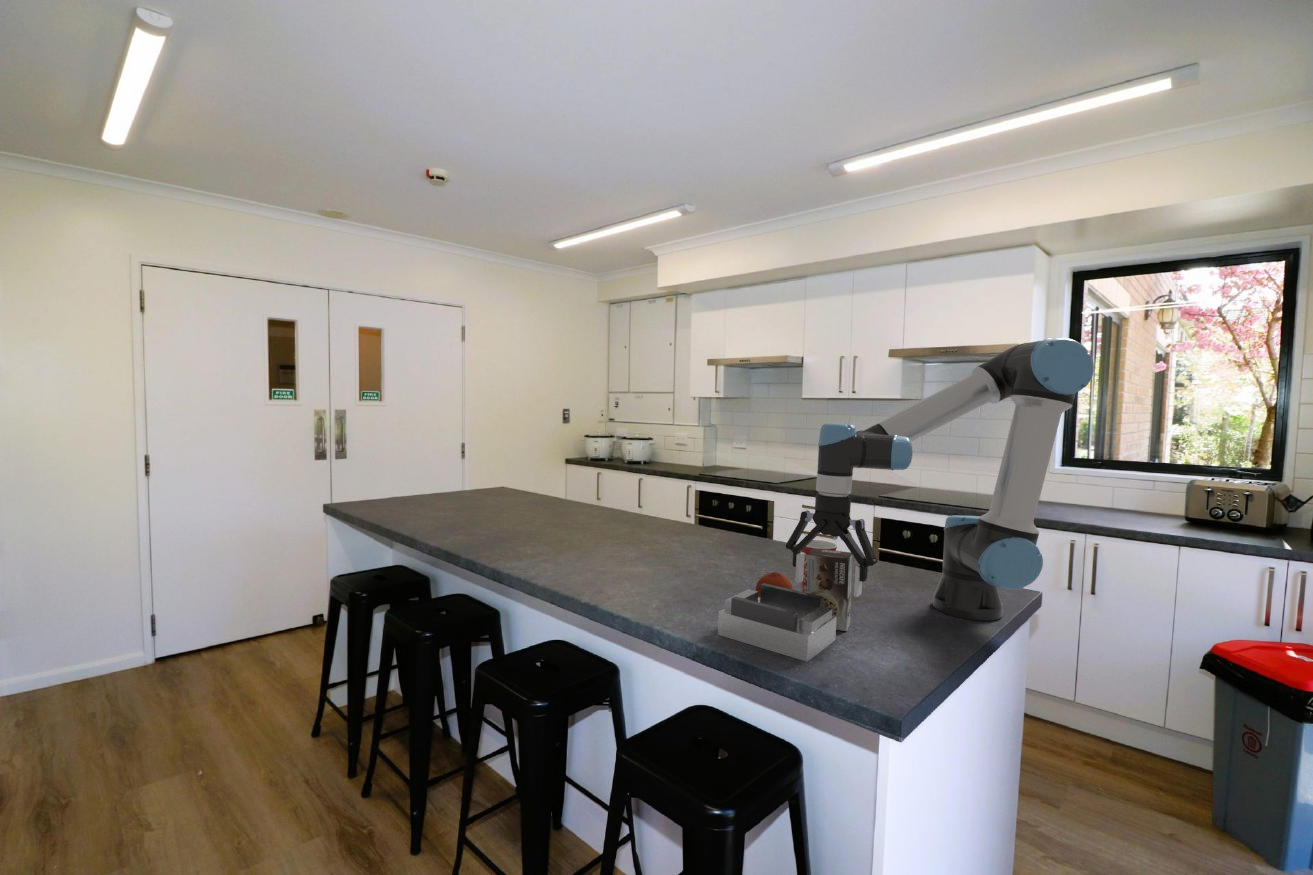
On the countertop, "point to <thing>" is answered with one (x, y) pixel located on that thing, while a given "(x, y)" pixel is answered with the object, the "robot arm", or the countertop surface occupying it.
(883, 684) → the countertop surface
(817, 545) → the mug
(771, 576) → the fruit
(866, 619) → the countertop surface
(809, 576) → the coffee box
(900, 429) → the robot arm
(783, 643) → the grey tray box
